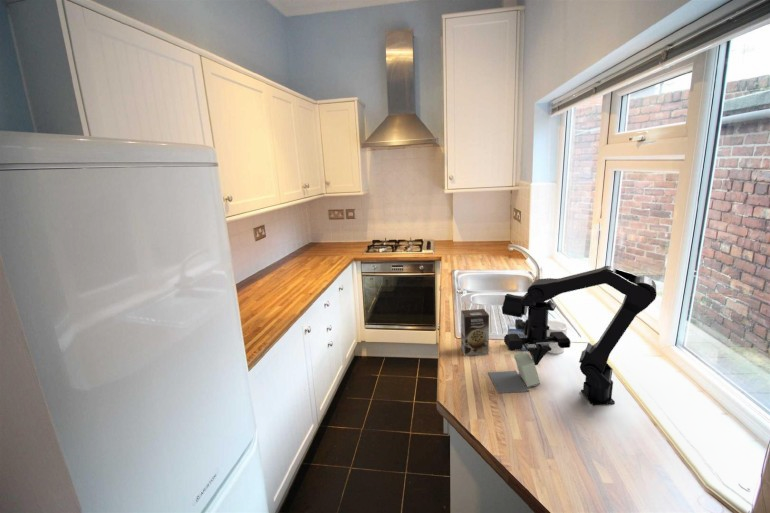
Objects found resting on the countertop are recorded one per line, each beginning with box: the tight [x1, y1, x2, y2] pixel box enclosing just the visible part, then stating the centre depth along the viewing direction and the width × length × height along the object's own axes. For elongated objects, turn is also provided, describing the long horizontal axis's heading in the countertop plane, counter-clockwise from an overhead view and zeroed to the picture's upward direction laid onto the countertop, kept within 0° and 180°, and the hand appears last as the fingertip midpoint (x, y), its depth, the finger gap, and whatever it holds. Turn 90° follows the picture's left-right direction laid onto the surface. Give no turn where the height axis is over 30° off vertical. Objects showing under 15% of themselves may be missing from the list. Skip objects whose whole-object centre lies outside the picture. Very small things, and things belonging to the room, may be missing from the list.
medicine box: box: [507, 324, 527, 351], centre depth 133 cm, size 8×4×9 cm, turn 76°
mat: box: [488, 370, 530, 394], centre depth 114 cm, size 9×11×1 cm
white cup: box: [547, 320, 568, 355], centre depth 129 cm, size 8×8×10 cm
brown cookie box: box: [460, 308, 490, 357], centre depth 131 cm, size 9×6×16 cm
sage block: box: [513, 350, 541, 389], centre depth 113 cm, size 4×7×8 cm, turn 179°
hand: (535, 364), depth 112 cm, fingers closed
